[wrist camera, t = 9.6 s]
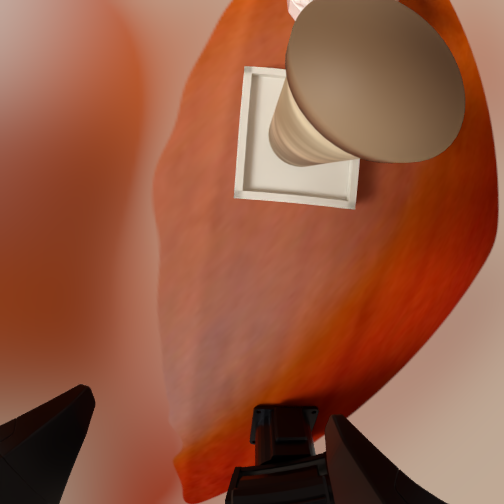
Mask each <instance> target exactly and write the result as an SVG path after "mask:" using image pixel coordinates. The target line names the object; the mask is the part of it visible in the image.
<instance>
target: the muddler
mask: <svg viewBox="0 0 504 504" xmlns="http://www.w3.org/2000/svg"><path fill="white" fill-rule="evenodd" d="M285 68H286V78H285V81H284V84H283V87H282V90H281V93H280V96H279V99H278V102H277V105H276V108H275V111H274V114H273V117H272V120H271V124H270V127H269V132H268V137H269V143H270V146H271V148H272V150H273V152H274V153H275V154H276V156H277V157H278V158H280V159H281V160H282V161H283V162H285V163H287V164H289V165H292V166H296V167H307V166H313V165H319V164H325V163H332V162H339V161H346V160H354V159H364V160H367V161H372V162H378V163H407V162H420V161H424V160H428V159H430V158H433V157H435V156H437V155H439V154H440V153H442V152H443V151H444V150H446V149H447V148H448V147H449V146H450V145H451V144H452V142H453V141H454V139H455V138H456V137H457V135H458V133H459V130H460V128H461V125H462V122H463V118H464V112H465V92H464V86H463V81H462V77H461V74H460V71H459V68H458V66H457V63H456V61H455V59H454V57H453V55H452V53H451V51H450V50H449V48H448V46H447V45H446V43H445V42H444V41H443V39H442V38H441V37H440V35H439V34H438V33H437V32H436V31H435V29H434V28H433V27H432V26H431V25H430V24H429V23H428V22H427V21H425V20H424V19H423V18H422V17H421V16H420V15H418V14H417V13H416V12H414V11H413V10H411V9H410V8H408V7H407V6H405V5H403V4H401V3H400V2H398V1H396V0H313V1H312V2H310V3H309V4H308V5H307V6H306V7H305V8H304V9H303V10H302V11H301V12H300V14H299V15H298V17H297V19H296V21H295V23H294V26H293V28H292V32H291V36H290V39H289V43H288V47H287V51H286V58H285Z"/></svg>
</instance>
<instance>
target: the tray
mask: <svg viewBox="0 0 504 504" xmlns="http://www.w3.org/2000/svg"><path fill="white" fill-rule="evenodd" d="M285 78H286V70H285V69H276V68H264V67H248V66H245V69H244V79H243V90H242V101H241V113H240V125H239V137H238V150H237V163H236V177H235V191H234V198H240V199H254V200H267V201H279V202H290V203H301V204H310V205H320V206H329V207H338V208H346V209H354V210H355V204H356V195H357V186H358V175H359V163H360V159H354V160H346V161H339V162H332V163H325V164H319V165H313V166H307V167H296V166H292V165H289V164H287V163H285V162H283V161H282V160H281V159H280V158H278V157H277V156H276V154H275V153H274V152H273V150H272V148H271V146H270V143H269V137H268V132H269V127H270V124H271V120H272V117H273V114H274V111H275V108H276V105H277V102H278V99H279V96H280V93H281V90H282V87H283V84H284V81H285Z"/></svg>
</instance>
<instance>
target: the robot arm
mask: <svg viewBox="0 0 504 504" xmlns="http://www.w3.org/2000/svg"><path fill="white" fill-rule="evenodd" d="M94 408H95V399H94V396H93V393H92V391H91V389H90V387H89V386H86V385H83V384H80V385H78V386H76V387H74V388H72V389H70V390H68V391H67V392H65V393H63V394H61V395H59V396H57V397H55V398H53V399H52V400H50V401H48V402H46V403H44V404H42V405H40V406H38V407H36V408H35V409H33V410H31V411H29V412H27V413H25V414H23V415H21V416H19V417H17V419H16V418H15V419H13V420H11V421H9V422H7V423H5V424H3V425H0V504H59V503H60V500H61V497H62V494H63V491H64V489H65V486H66V484H67V481H68V478H69V476H70V473H71V470H72V468H73V466H74V463H75V461H76V458H77V455H78V453H79V451H80V448H81V446H82V444H83V441H84V439H85V437H86V434H87V431H88V427H89V424H90V420H91V417H92V414H93V411H94ZM318 412H319V410H318V407H315V406H312V407H271V406H256V407H255V408H254V410H253V418H252V426H251V434H250V443H251V444H255V466H249V467H235V469H234V473H233V474H232V478H231V481H230V485H229V488H228V492H227V495H226V499H225V504H447V503H445V502H444V501H442V500H440V499H438V498H437V497H435V496H434V495H433V494H431V493H429V492H428V491H426V490H425V489H423V488H422V487H421V486H419V485H418V484H416V483H415V482H414V481H413V480H411V479H410V478H409V477H408V476H407V475H405V474H404V473H403V472H402V471H401V470H399V469H398V468H397V466H395V465H394V464H393V463H392V462H391V461H390V460H389V459H388V458H387V457H386V456H385V455H383V454H382V453H381V452H380V451H379V450H378V449H377V448H376V447H375V446H374V445H373V444H372V443H371V442H370V441H369V440H368V439H367V438H366V437H365V436H364V435H363V434H362V433H361V432H360V431H359V430H358V429H357V428H356V427H355V426H354V425H352V424H351V422H349V420H348V419H347V418H346V417H345V416H343V415H342V414H333V415H331V416H330V418H329V420H328V423H327V425H326V428H325V441H326V452H324V453H322V454H318V455H316V454H315V449H314V443H313V438H312V433H311V432H312V429H313V427H314V424H315V421H316V418H317V415H318Z"/></svg>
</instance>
